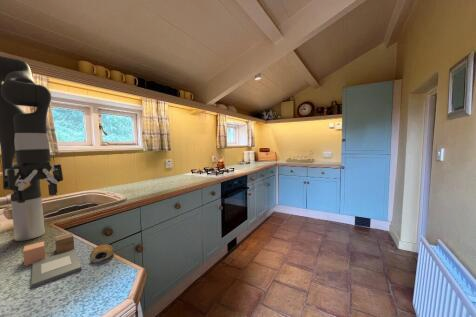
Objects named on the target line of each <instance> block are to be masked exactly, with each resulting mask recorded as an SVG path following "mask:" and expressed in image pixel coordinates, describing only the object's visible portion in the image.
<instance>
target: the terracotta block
mask: <svg viewBox="0 0 476 317" xmlns="http://www.w3.org/2000/svg"><path fill="white" fill-rule="evenodd" d="M22 252H23V263H24V266H28V265H33V262H34V261H37V260H41V259H44V258H47V257H46V247H45V241H44V240H43V241H40V242H36V243H32V244H28V245H25V246H24V247H23V251H22Z"/></svg>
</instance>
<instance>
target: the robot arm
mask: <svg viewBox="0 0 476 317" xmlns="http://www.w3.org/2000/svg"><path fill="white" fill-rule="evenodd" d="M51 101H52V93H51V91H50V90H49V88H48V87H47V86H45V85H41V84H36V82H35V81H34V77H33V73H32V70H31V67H30V65H29V64H28V63H27V62H26V61H24V60H21V59H18V58H13V57H7V56H4V55H0V152H1V154H0V156H1V169H2V171H1V172H2V187H3V188H2V189H3V190H5V191H6V190H7V191H12V192H13V193H11V194H10V205H11V213H12V223H13V224H12V225H13V233H14V241H16V242H22V241H28V240H33V239H35V238H38V237H41V236H43V235H44V234H46V233H45V221H44V220H45V219H44V211H43V210H44V208H43V200H42V192H41V191H42V190H41V180H44V181H46V183H48V185H47V186H48V195H49V196H56V195H57V193H58V183H60V182H62V181H64V177H63V176H64V175H63V170H62V169H63V168H62V165H61V164H60V163H59V164H58V163H57V164H52V165H51V162H52V161H51V149H50V141H49V137H48V131H47V130H48V128H47V116H48V110H49V107H50V104H51ZM22 107H32V108H35V109H36V110H35V111H33V112H26V111H25V110H24V109H23V108H22ZM14 158H15V161H16V162H14ZM51 171H52V173H51ZM27 185H28V186H27ZM26 186H27V187H26Z"/></svg>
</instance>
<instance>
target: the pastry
mask: <svg viewBox="0 0 476 317" xmlns="http://www.w3.org/2000/svg"><path fill="white" fill-rule="evenodd" d="M113 255H114V247H113V246H112V245H110V244H108V243H107V244H105V243H104V244H99V245H98V246H96V247H95V248H93V249H92V251H91V253H90V254H89V262H91V263H98V262H101V261H105V260H107V259H110V258H111V257H112V256H113Z"/></svg>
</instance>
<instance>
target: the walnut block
mask: <svg viewBox="0 0 476 317" xmlns="http://www.w3.org/2000/svg"><path fill="white" fill-rule="evenodd" d="M54 240H55V242H54V243H55V252H56V255H57V254H61V253H64V252H67V251H71V250H74V249H75V241H74V240H75V239H74V234H73V232H69V233H65V234H60V235H56V236H55V237H54Z"/></svg>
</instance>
